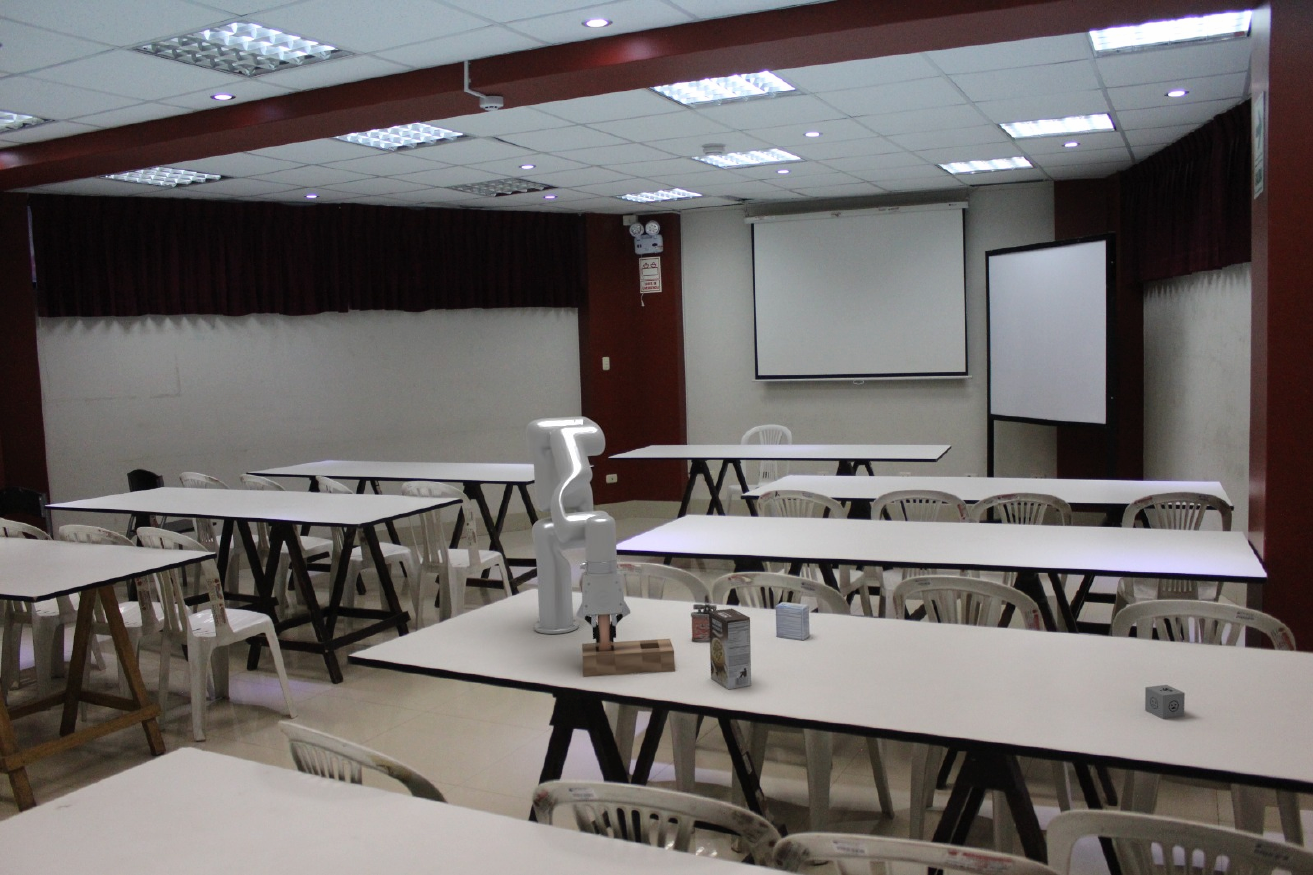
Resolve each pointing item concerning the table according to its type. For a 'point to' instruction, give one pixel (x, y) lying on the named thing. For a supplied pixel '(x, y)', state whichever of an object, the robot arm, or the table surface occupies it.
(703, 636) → the lighter
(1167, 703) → the dice cube
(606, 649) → the peg
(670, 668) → the hole block
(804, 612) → the medicine box
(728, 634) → the coffee box
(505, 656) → the table surface
